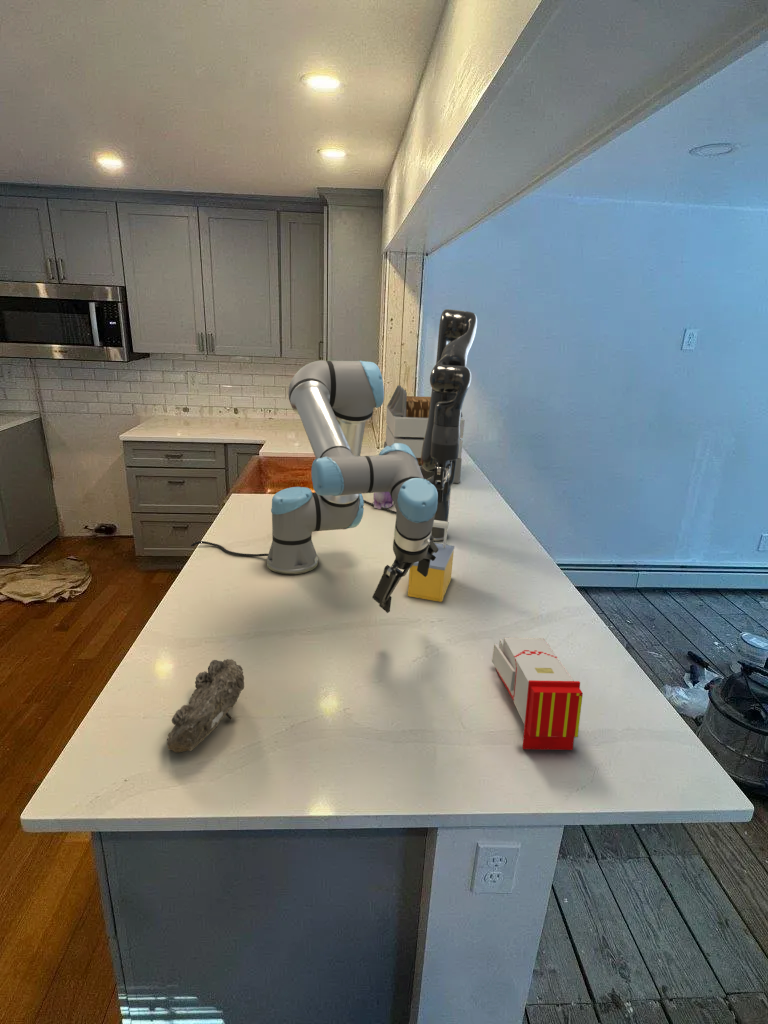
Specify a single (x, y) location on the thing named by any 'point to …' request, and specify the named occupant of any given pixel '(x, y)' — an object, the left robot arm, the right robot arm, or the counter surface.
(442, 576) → the chest
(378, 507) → the figurine
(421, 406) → the grey slatted crate
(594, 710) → the counter surface
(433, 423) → the right robot arm
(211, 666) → the fossil
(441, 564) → the lid
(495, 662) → the toy
